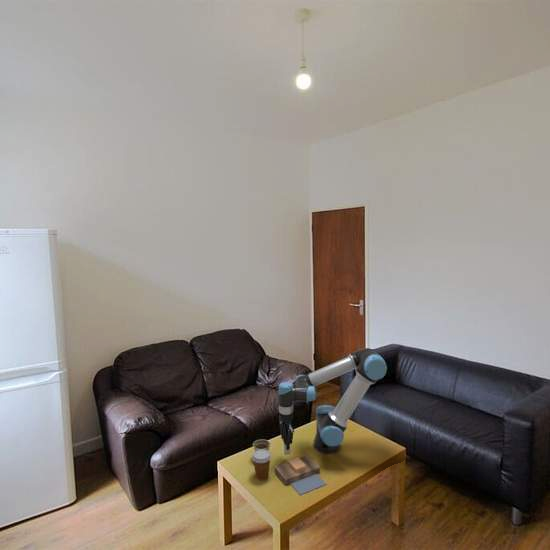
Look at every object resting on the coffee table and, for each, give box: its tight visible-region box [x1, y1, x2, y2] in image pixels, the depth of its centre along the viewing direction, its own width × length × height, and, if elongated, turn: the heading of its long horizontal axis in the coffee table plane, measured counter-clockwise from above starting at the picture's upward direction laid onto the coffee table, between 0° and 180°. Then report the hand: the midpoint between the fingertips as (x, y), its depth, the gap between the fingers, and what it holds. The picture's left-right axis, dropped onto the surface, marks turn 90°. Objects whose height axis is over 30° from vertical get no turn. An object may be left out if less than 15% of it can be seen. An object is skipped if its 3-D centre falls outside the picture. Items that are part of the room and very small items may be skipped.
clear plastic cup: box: [252, 439, 271, 452], centre depth 196 cm, size 9×9×9 cm
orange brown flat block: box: [286, 456, 306, 473], centre depth 185 cm, size 6×9×2 cm, turn 27°
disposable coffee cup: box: [251, 449, 272, 481], centre depth 182 cm, size 10×10×12 cm
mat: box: [289, 474, 327, 496], centre depth 176 cm, size 15×9×1 cm, turn 117°
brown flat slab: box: [273, 454, 321, 486], centre depth 185 cm, size 20×12×3 cm, turn 117°
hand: (287, 454), depth 194 cm, fingers closed
